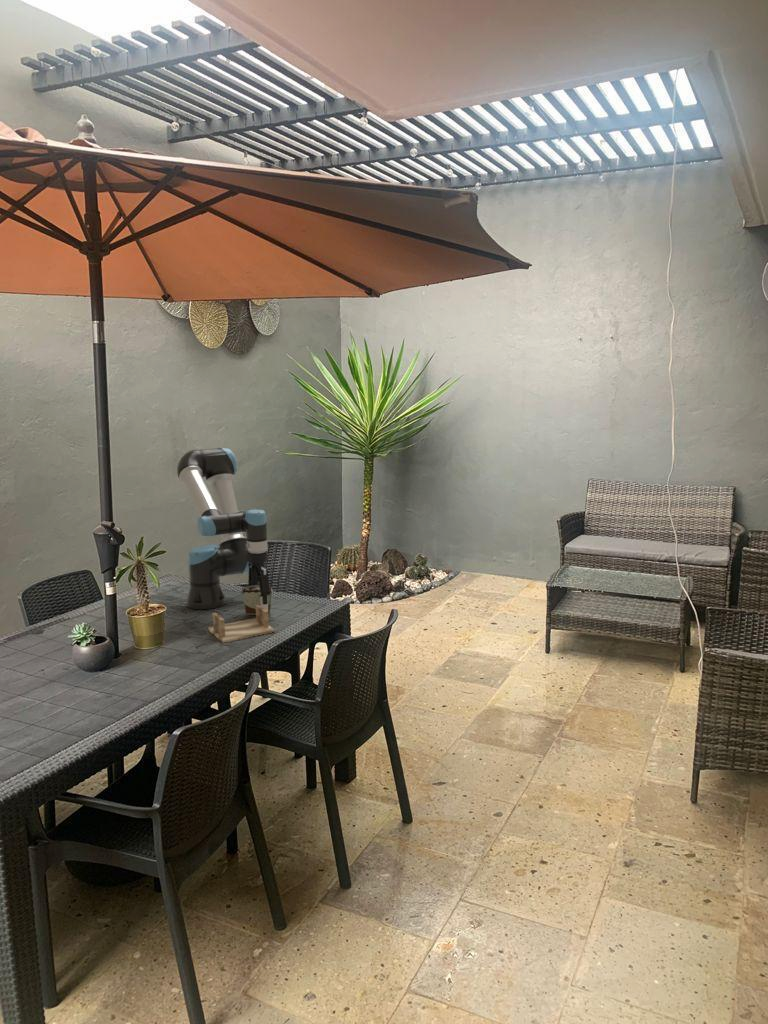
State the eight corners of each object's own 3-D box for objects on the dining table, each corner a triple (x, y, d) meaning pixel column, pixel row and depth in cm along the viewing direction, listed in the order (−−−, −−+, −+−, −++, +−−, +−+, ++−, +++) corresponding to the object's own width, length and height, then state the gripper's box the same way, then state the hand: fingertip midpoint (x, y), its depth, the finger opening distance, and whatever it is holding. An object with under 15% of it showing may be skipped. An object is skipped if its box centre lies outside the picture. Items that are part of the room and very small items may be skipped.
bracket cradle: (208, 629, 263) (206, 611, 262) (257, 620, 273) (256, 602, 271) (223, 643, 249) (222, 623, 248) (275, 632, 259) (274, 613, 258)
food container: (277, 610, 283) (276, 585, 281) (273, 615, 276) (272, 589, 275) (246, 609, 284) (245, 584, 282) (241, 614, 278) (240, 588, 276)
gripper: (237, 546, 282) (240, 603, 286) (258, 558, 264) (261, 618, 269) (256, 544, 286) (258, 600, 290) (277, 555, 268) (280, 614, 272)
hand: (259, 608), depth 279 cm, fingers closed on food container, 8 cm apart
